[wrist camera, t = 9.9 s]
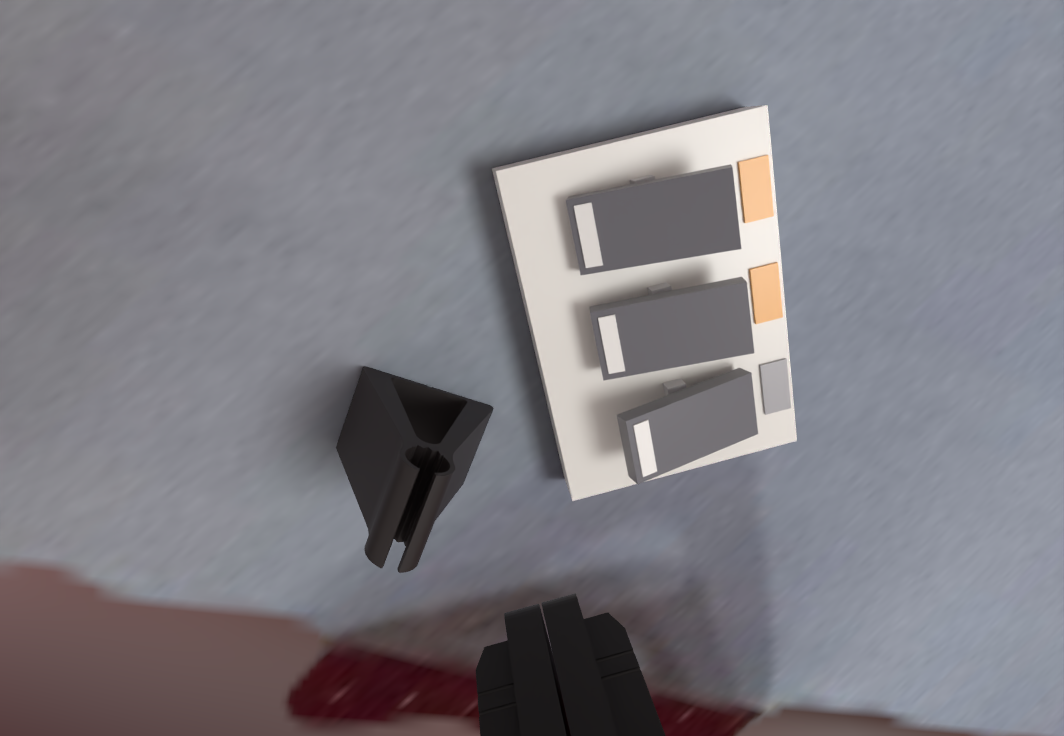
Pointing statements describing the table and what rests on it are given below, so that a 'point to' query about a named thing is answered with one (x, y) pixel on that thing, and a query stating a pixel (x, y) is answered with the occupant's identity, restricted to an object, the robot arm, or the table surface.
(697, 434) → the block
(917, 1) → the table surface
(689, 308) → the block
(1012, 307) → the table surface
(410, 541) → the phone stand
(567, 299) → the switch unit
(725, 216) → the rocker
